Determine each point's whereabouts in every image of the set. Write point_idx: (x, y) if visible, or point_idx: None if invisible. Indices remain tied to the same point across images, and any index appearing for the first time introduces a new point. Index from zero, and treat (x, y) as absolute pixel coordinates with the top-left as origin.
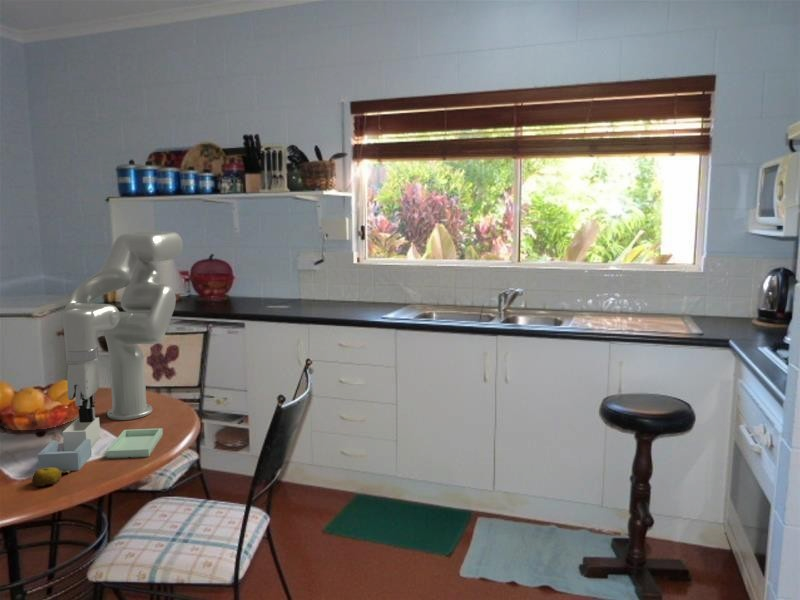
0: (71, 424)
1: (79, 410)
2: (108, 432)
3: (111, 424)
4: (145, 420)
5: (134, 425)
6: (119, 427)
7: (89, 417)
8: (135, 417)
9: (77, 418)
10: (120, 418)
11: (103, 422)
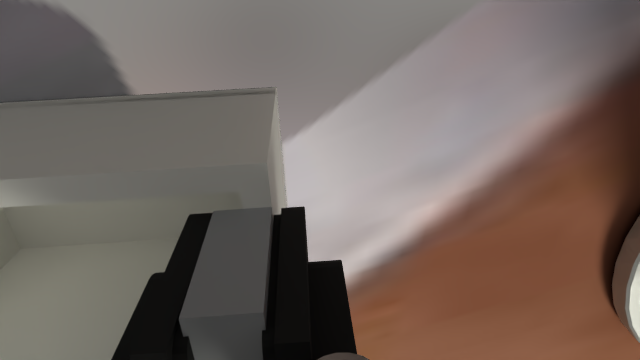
0: (30, 187)
1: (142, 335)
2: (401, 236)
3: (564, 200)
4: (569, 356)
5: (498, 331)
6: (485, 267)
7: None
8: (620, 315)
9: (262, 167)
10: (633, 243)
11: (634, 128)
